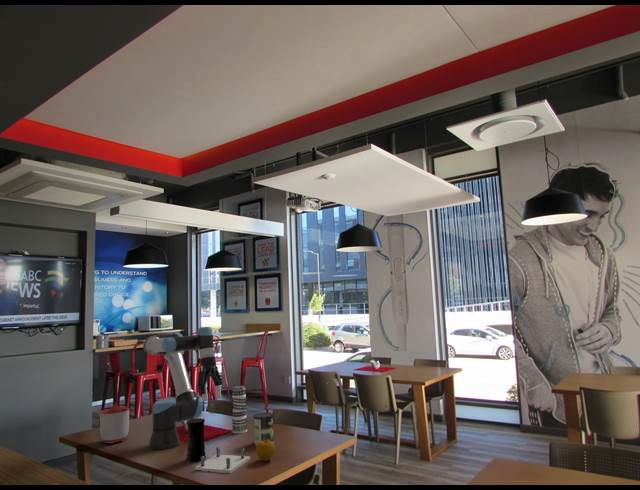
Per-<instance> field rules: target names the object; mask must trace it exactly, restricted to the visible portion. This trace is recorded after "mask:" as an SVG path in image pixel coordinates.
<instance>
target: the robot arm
mask: <svg viewBox="0 0 640 490" xmlns="http://www.w3.org/2000/svg"><path fill="white" fill-rule="evenodd" d="M196 331H197V332H196V333H197V334H194V335H183V334H181V333H175V332H173V333H167V334H166V333H164V334H163V333H162V334H156V335H151V336H149V337H147V338H146V339H145V340H144V342H143V350H144V352H145V353H147V354H149V355H152V356H159V355H163V358H164V359H165V360H167V362H168V366H169V369H170V374H171V377H172V381H173V386H174V389H175V393H176V397H166V398H165V397H164V398H162V399H161V398H160V399H158V400H156V401H155V402H154V403H153V405H152V412H151V413H152V433H151V435H150V440H149V444H148V446H149V447H150V448H149V449H151V448H152V449H151V450H167V449H171V448H175V447H176V446H178V445H179V444H180V437H179V434H178V431H177V427H176V426H177V423H181V422H185V421H186V422H187V421H188V420H190V419H197V418H199V417H200V418H201V416H202V414H203V413H202V412H203V409H204V402H208V401H209V394H208V389H207V388H208V387H207V383H208V379H209V377H210V378H211V379H212V381H213V383H214V385H215V386H214V390H215V399H216V400H219V399H222V390H221V386H222V385H223V380H222V378H221V375H220V373H219V369H218V366H215V364H217V362H216V356H215V347H214V346H215V345H214V344H215V343H214V336H213V334H214V333H213V330H212V327H211V326H203V327H200V328H198V329H196ZM198 350H199V358H200V359H199V361H200V366H201V367H199V375H198V382H197V387H198V388H199V389H200V390H201V395H197V392H196V391H195V390H193V388H192V385H191V382H190V381H191V380H190V378H189V373H188V371H187V367H186V364H185V360H184V356H183V355H184V354H185V351H198Z"/></svg>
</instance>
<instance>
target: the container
mask: <svg viewBox="0 0 640 490" xmlns="http://www.w3.org/2000/svg"><path fill="white" fill-rule="evenodd" d="M205 422H206V420H205V419H204V418H201V417H200V418H199V417H198V418H195V419H190V420H186V427H187V429H186V431H187V452H186V462H188V463H191V462H195V463H201V462H200V461H201V456H204V461H206V460H207V459H206V458H207V456H206V452H205V449H206V446H205Z"/></svg>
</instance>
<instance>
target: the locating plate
mask: <svg viewBox="0 0 640 490" xmlns="http://www.w3.org/2000/svg"><path fill="white" fill-rule="evenodd" d="M215 448H216V450H215V451H216V452H215V455H213V456H212V457H209V458H208V459H205V460H204V456H201V462H200V464H198V465H197V466H195V467H194V471H195V470H202V471H201V472H208V471H210V473H220V474H224V473H225V474H232V473H233V472H235V471H236V470H237V469H238V468H240V467H242V466H243V465H244V464H246V463H247V462H249V461H250V460H251V456H247V455H246V456H245V448H240V455H231V454H221V448H220V446H218V447H215Z"/></svg>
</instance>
